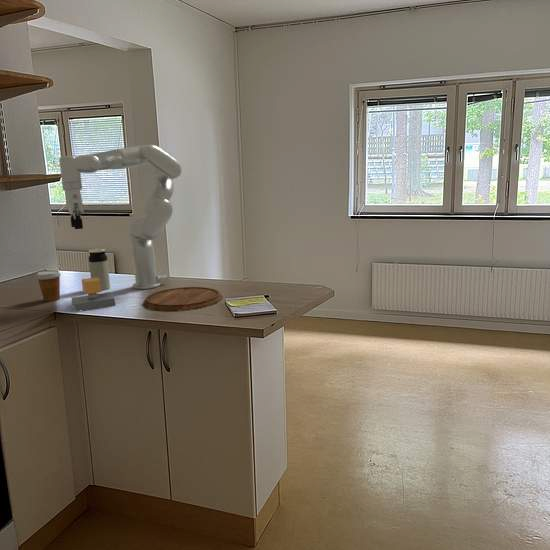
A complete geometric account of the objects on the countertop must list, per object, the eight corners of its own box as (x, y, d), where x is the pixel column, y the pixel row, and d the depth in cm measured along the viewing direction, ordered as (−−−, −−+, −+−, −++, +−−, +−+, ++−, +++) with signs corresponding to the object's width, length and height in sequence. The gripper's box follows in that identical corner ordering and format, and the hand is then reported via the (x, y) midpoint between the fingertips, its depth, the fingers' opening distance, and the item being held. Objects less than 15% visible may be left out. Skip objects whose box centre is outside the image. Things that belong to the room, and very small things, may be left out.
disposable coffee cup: (42, 303, 224) (38, 275, 222) (37, 299, 232) (34, 272, 229) (65, 299, 229) (62, 272, 227) (60, 295, 237) (57, 269, 234)
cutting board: (233, 292, 231) (233, 287, 230) (204, 313, 201) (203, 307, 200) (166, 291, 239) (165, 285, 239) (128, 310, 209) (127, 304, 209)
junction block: (109, 299, 227) (107, 276, 225) (115, 305, 216) (112, 281, 214) (72, 304, 220) (69, 281, 218) (76, 311, 210) (73, 286, 208)
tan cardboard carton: (98, 289, 221) (96, 277, 220) (101, 292, 216) (100, 279, 215) (82, 291, 218) (81, 279, 217) (85, 294, 213) (84, 282, 212)
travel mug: (105, 290, 243) (101, 251, 239) (89, 290, 244) (84, 251, 240) (113, 286, 250) (109, 248, 247) (97, 286, 252) (93, 248, 248)
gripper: (85, 186, 215) (89, 228, 219) (78, 185, 230) (83, 225, 234) (65, 187, 212) (70, 230, 215) (60, 186, 227) (65, 226, 231)
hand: (77, 227), depth 225 cm, fingers open, 9 cm apart
